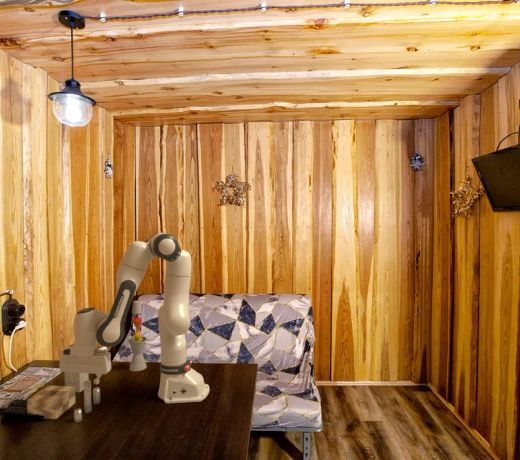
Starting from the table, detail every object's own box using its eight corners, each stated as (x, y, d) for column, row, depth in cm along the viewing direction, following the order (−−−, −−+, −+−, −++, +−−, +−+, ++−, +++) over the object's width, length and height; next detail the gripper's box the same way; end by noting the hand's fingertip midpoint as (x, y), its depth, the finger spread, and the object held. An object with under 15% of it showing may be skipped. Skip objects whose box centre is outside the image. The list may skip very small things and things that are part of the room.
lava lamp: (128, 365, 186) (127, 300, 185) (146, 363, 189) (145, 298, 188) (128, 372, 177) (127, 303, 176) (147, 369, 181) (146, 302, 180)
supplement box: (89, 385, 164) (88, 358, 164) (79, 392, 157) (79, 365, 157) (74, 384, 165) (73, 357, 165) (64, 392, 158) (63, 364, 157)
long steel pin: (92, 409, 143) (92, 380, 143) (89, 412, 141) (88, 383, 140) (86, 409, 144) (86, 380, 143) (82, 412, 141) (82, 383, 141)
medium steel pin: (101, 401, 150) (101, 387, 150) (98, 404, 147) (97, 390, 147) (95, 400, 150) (95, 387, 150) (92, 404, 148) (91, 390, 147)
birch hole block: (75, 402, 149) (74, 386, 148) (56, 419, 137) (55, 401, 136) (48, 401, 150) (48, 385, 149) (27, 417, 138) (27, 400, 138)
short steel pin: (83, 418, 137) (83, 408, 137) (79, 422, 134) (79, 412, 134) (77, 418, 137) (76, 408, 137) (72, 422, 135) (72, 411, 134)
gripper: (114, 347, 143) (114, 380, 144) (67, 344, 145) (67, 377, 146) (106, 353, 137) (105, 388, 137) (57, 350, 139) (56, 384, 139)
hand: (85, 382), depth 142 cm, fingers open, 8 cm apart
